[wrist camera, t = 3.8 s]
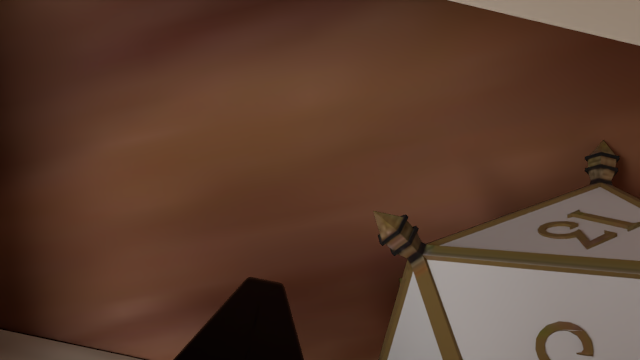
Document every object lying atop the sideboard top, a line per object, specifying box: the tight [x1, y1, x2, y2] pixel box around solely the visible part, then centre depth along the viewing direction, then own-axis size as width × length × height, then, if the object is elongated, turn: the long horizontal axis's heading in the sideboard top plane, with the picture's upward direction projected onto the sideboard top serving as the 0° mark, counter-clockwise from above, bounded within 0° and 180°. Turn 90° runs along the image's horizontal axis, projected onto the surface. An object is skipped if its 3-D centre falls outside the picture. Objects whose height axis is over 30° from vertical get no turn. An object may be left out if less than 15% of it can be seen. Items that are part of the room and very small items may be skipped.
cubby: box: [0, 0, 640, 360], centre depth 10 cm, size 14×13×4 cm
